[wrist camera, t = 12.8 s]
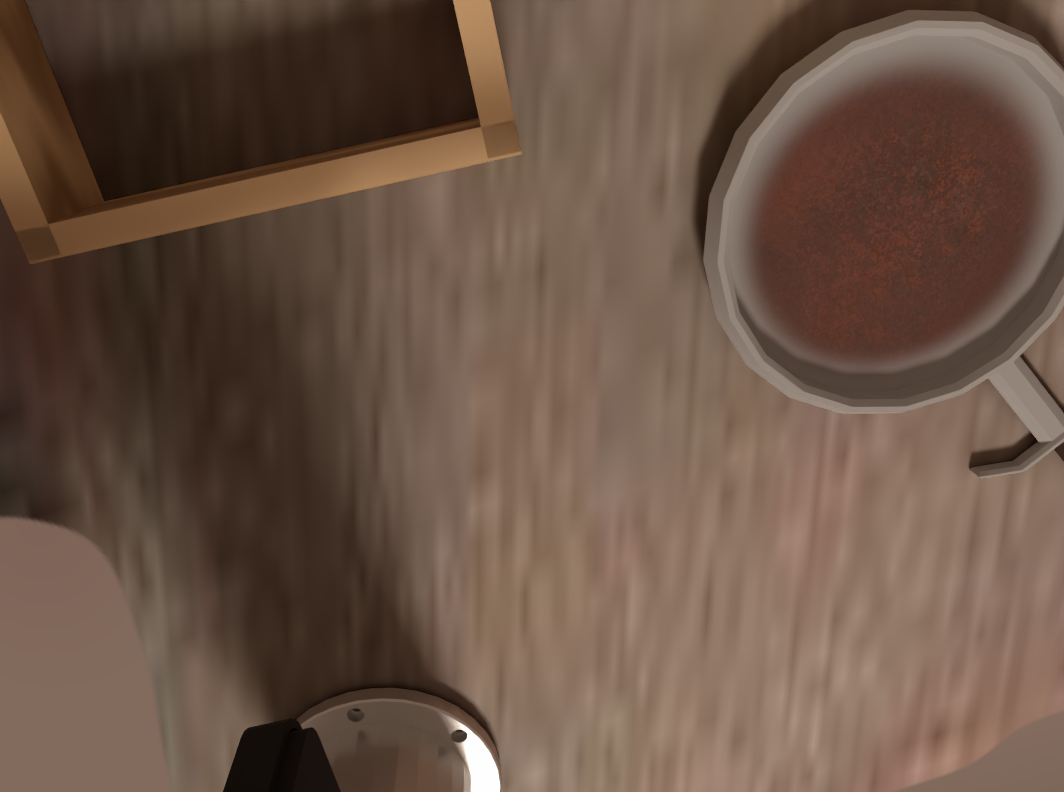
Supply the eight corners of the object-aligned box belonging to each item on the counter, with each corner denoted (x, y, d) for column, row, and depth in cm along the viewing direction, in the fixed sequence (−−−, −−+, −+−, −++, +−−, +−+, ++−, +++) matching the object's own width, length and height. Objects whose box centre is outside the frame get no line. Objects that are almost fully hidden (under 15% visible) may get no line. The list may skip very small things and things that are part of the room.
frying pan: (984, 622, 43) (624, 233, 34) (953, 588, 46) (611, 219, 37) (1288, 400, 40) (978, -103, 30) (1235, 377, 42) (935, -91, 33)
